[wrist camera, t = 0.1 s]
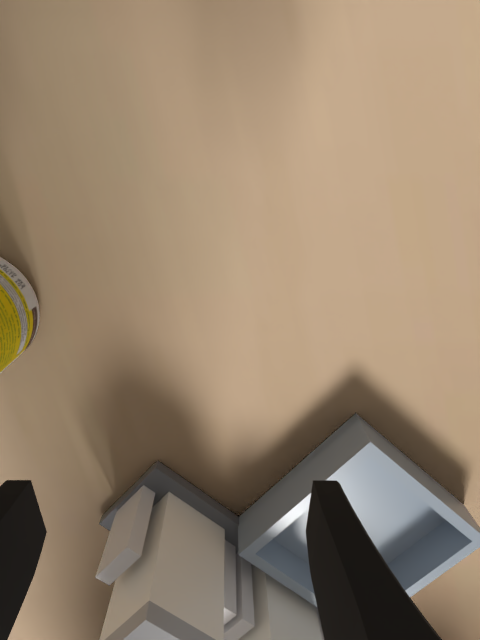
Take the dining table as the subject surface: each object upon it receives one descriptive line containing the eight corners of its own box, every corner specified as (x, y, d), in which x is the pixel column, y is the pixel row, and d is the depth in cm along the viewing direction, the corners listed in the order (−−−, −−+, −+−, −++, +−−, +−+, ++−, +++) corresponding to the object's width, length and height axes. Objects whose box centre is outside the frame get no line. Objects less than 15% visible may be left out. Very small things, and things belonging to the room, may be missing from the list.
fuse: (184, 564, 25) (169, 706, 19) (129, 530, 24) (92, 666, 18) (224, 529, 24) (223, 664, 18) (169, 491, 23) (145, 620, 17)
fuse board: (353, 674, 30) (374, 761, 25) (102, 515, 25) (74, 591, 20) (409, 635, 29) (441, 719, 24) (157, 460, 23) (141, 527, 19)
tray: (347, 593, 27) (358, 634, 25) (237, 517, 25) (238, 554, 23) (464, 505, 25) (488, 540, 23) (355, 413, 23) (370, 442, 20)
